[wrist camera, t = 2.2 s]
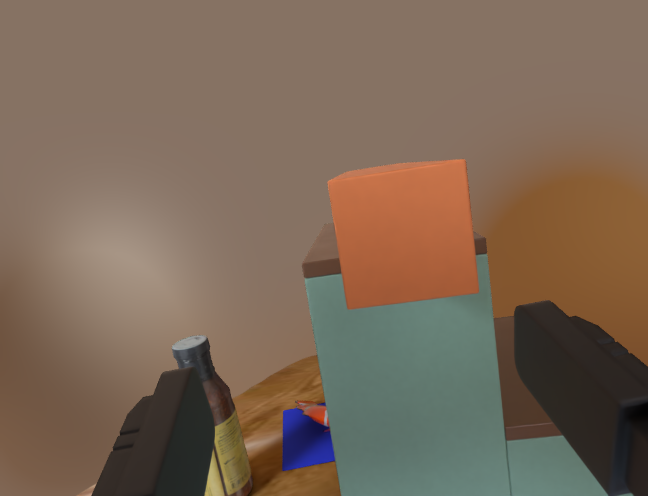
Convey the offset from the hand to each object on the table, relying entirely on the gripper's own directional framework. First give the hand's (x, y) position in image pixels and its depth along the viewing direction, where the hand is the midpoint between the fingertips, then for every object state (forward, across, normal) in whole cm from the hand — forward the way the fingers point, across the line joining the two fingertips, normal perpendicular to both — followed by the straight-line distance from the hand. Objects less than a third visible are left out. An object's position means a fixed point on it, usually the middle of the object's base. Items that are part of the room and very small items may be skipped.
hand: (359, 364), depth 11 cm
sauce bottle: (+31, +17, +39) cm, 53 cm away
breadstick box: (+13, -3, +2) cm, 14 cm away
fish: (+41, +4, +42) cm, 59 cm away
